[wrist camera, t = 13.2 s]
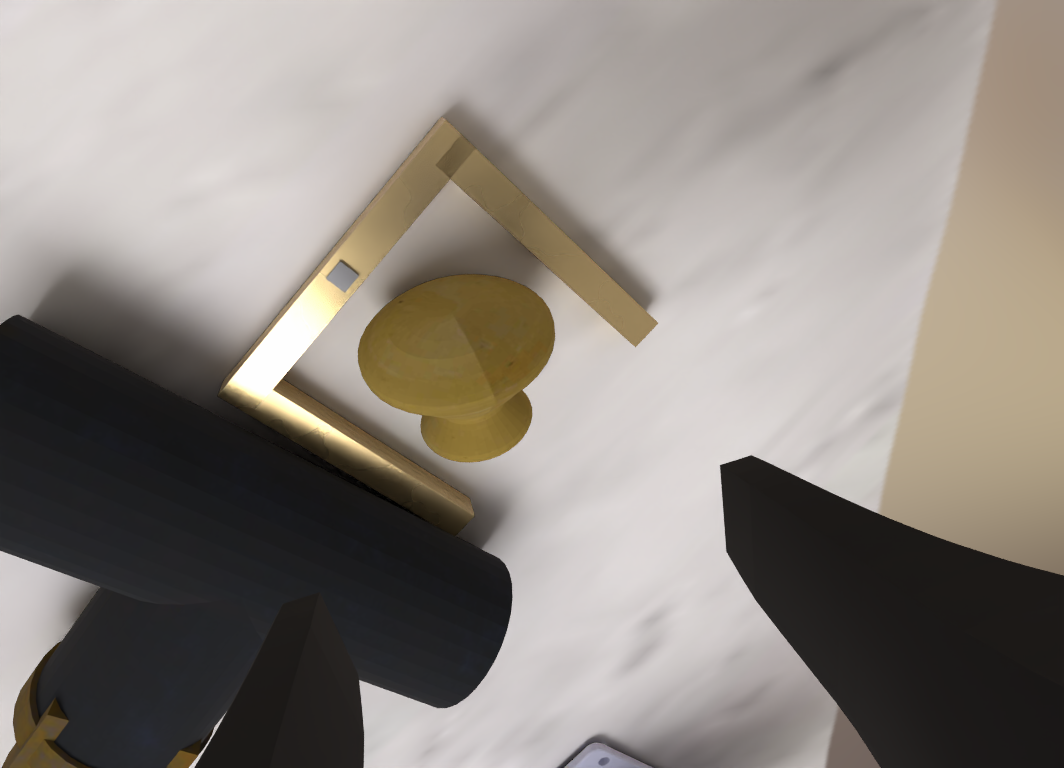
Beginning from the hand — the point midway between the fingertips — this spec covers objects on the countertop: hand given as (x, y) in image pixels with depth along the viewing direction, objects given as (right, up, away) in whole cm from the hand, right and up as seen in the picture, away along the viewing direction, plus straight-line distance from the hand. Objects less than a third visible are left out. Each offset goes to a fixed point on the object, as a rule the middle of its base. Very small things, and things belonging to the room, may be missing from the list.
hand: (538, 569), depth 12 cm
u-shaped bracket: (-2, +4, +9) cm, 10 cm away
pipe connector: (-11, -2, +10) cm, 15 cm away
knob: (-3, +5, +9) cm, 10 cm away
